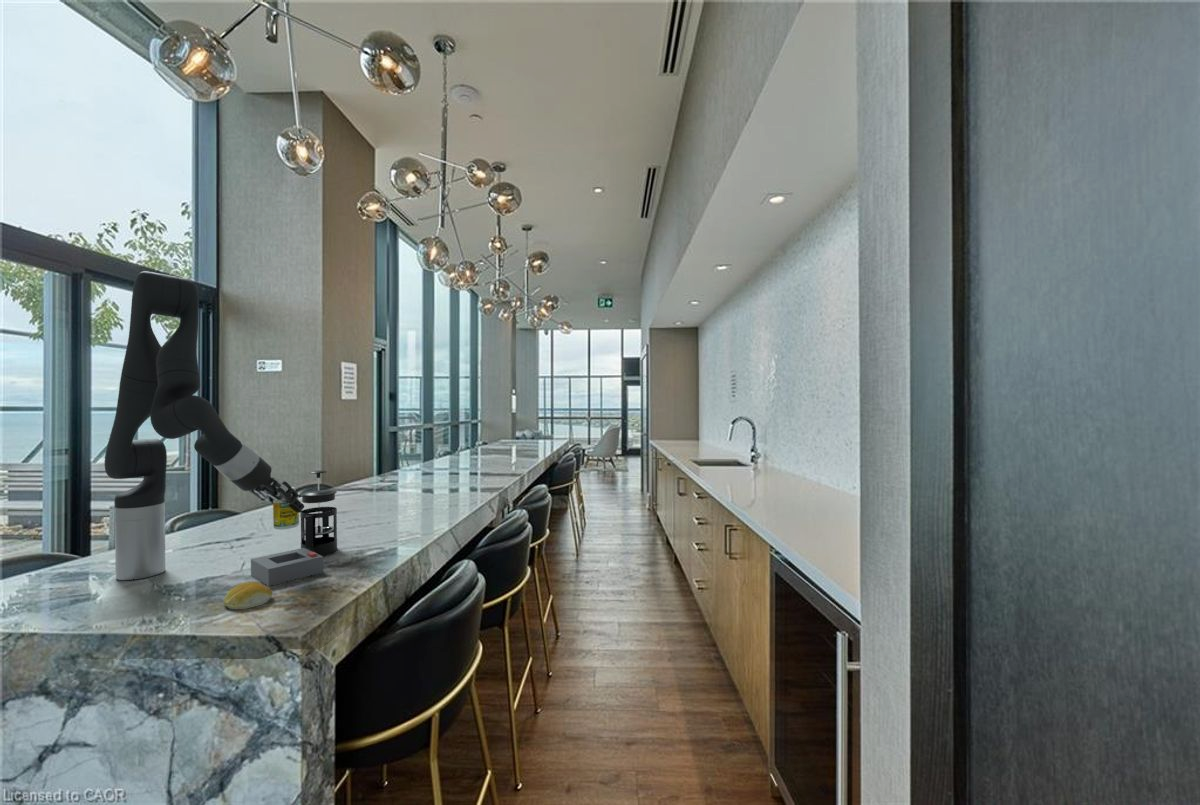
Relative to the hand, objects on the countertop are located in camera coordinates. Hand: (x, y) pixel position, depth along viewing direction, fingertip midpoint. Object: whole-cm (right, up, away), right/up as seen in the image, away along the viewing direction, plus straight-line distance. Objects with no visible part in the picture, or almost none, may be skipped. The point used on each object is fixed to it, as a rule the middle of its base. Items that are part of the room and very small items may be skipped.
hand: (293, 508), depth 129 cm
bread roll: (+2, -17, -18) cm, 25 cm away
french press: (-2, -16, +16) cm, 22 cm away
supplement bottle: (-1, -4, -2) cm, 5 cm away
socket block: (-1, -16, -1) cm, 16 cm away
